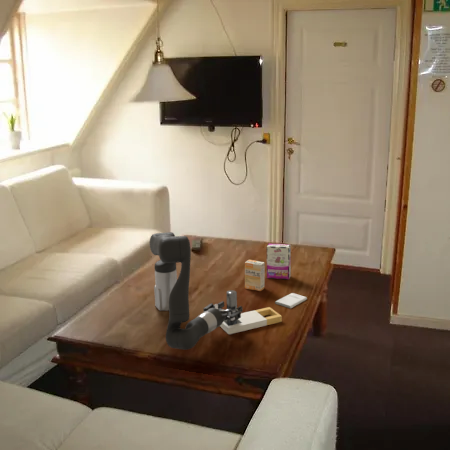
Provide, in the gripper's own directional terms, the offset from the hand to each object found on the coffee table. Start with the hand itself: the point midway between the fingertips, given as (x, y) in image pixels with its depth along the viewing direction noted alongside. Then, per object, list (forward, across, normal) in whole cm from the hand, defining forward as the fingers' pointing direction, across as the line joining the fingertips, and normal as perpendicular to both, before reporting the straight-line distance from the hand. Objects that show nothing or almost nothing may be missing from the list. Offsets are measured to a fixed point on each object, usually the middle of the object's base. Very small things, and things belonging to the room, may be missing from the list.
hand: (232, 305), depth 229 cm
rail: (+6, -4, +9) cm, 12 cm away
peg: (0, 0, +9) cm, 9 cm away
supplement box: (+38, +13, +9) cm, 42 cm away
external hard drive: (+34, -8, +10) cm, 36 cm away
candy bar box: (+57, +11, +9) cm, 58 cm away
